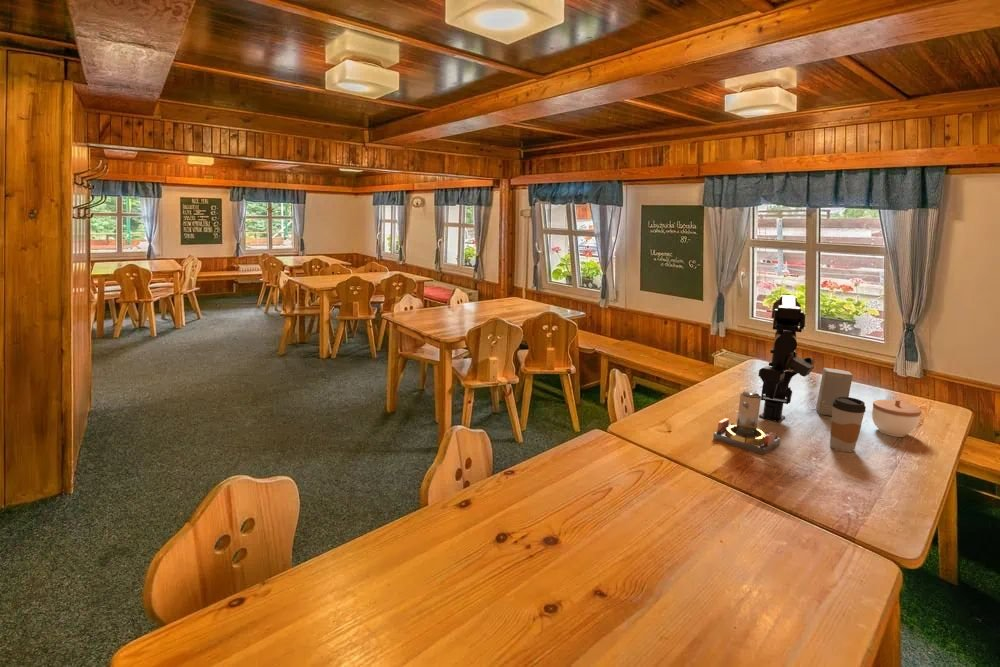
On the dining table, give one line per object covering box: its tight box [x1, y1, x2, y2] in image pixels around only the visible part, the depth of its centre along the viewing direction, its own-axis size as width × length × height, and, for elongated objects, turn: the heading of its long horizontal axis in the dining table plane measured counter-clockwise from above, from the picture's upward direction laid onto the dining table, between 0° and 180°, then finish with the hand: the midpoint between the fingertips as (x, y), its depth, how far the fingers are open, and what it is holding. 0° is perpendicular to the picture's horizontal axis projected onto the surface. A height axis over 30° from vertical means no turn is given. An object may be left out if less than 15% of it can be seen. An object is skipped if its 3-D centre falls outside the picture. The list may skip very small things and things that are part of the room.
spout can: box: [736, 390, 762, 438], centre depth 160 cm, size 8×6×14 cm, turn 138°
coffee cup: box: [829, 397, 867, 453], centre depth 159 cm, size 8×8×15 cm
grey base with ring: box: [712, 417, 781, 456], centre depth 163 cm, size 12×15×5 cm
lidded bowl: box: [871, 399, 922, 438], centre depth 173 cm, size 13×13×11 cm
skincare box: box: [815, 367, 854, 417], centre depth 188 cm, size 8×7×16 cm
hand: (777, 395), depth 167 cm, fingers open, 9 cm apart
